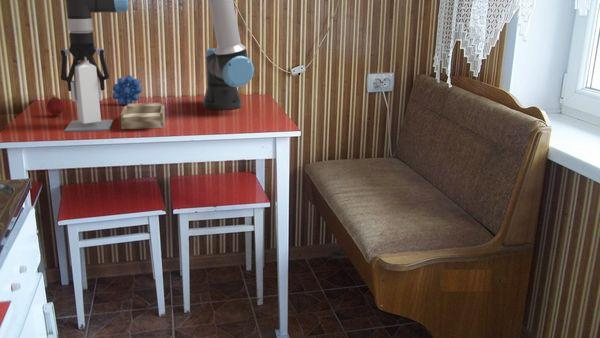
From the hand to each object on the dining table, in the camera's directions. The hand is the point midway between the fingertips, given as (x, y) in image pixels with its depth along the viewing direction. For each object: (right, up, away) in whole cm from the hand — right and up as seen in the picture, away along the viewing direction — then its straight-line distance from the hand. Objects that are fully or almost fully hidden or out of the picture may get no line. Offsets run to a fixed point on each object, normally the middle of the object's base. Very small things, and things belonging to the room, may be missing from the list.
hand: (87, 100), depth 206 cm
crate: (+17, -7, +8) cm, 20 cm away
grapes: (+3, +2, +37) cm, 38 cm away
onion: (-17, -4, +16) cm, 24 cm away
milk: (0, -7, +2) cm, 7 cm away
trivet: (0, -9, +3) cm, 9 cm away
